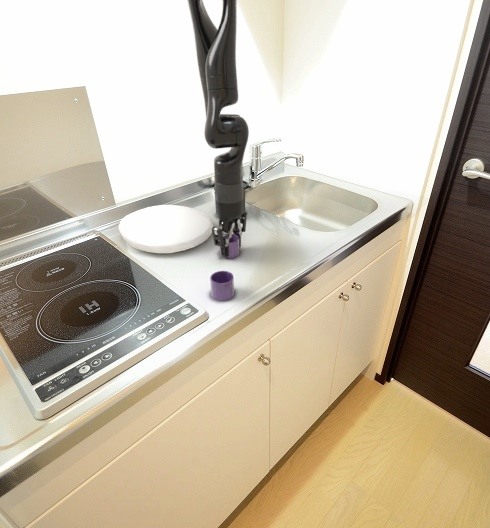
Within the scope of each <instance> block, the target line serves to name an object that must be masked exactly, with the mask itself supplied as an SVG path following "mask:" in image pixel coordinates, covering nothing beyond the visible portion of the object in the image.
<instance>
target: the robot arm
mask: <svg viewBox="0 0 490 528" xmlns="http://www.w3.org/2000/svg"><path fill="white" fill-rule="evenodd" d="M187 5H188V10H189V15H190V19H191V24H192V29H193V30H192V31H193V36H194V43H195V53H196V60H197V61H196V62H197V67H198V74H199V79H200V84H201V85H200V86H201V89H202V95H203V100H204V102H203V103H204V110H205V124H204V130H203V131H204V139H205V142H206V143H207V145H208V146H209V147H210V148H212V149H227V148H229V150H228V151H225V152H224V153H221V154H218V155H216V156H215V157H214V159H213V171H214V172H213V173H214V204H215V214H216V215H217V218H219V221H218V225H216V226H213V227H212V233H211V234H212V238H213V242H214V246H217V247H219V248H220V247H221V254H220V256H221V255H222V256H223V257H222V256H221V257H222V258H225V257H226V258H225V259H228V258H227V257H229V245H228V244H229V239H230V238H231V237H232V234H235V235H237V236H238V237H239V249H240V248H242V236H243V233H245V232H246V230H247V229H246V228H247V217H248V212H247V211H246V190H247V188H249V189H251V188H252V187H251V185H250V186H249V184H247V185H245V186H244V168H243V165H244V164H243V162H244V157H245V153H246V149H247V145H248V140H249V137H250V136H249V135H250V129H249V125H248V122H247V121H246V120H245V118H243V116H241V115H240V114H235V113H221V112H222V110H223V109H224V108H226V107H230V106H233V105H236V104H237V103H238V102H239V86H238V72H237V23H238V22H237V21H238V20H237V19H238V13H237V11H238V0H222V11H221V18H220V22H219V25H218V28H217V27H216V25H215V24H214V22H213V21H212V19H211V18H210V16H209V14H208V11H207V9H206V6H205V4H204V1H203V0H187ZM241 224H242V225H241ZM226 234H228V235H226ZM224 237H225V238H226V240H225V241H224V239H223V238H224Z"/></svg>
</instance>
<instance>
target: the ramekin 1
mask: <svg viewBox="0 0 490 528" xmlns="http://www.w3.org/2000/svg"><path fill="white" fill-rule="evenodd" d="M225 234H226V235H228V233H225ZM223 239H224V241H225V240H226V238H225V237H224V238H223ZM228 245H229V257H227V258H226V257H223V256H222V255H221V247H220V246H219V254H220V256H221V257H222V258H225V259H234V258H236V257H238V256H239V255H240V248H239V237H238V236H237V235H235V234H233V233H232V237H231V238H230V239H229V244H228Z"/></svg>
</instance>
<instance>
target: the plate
mask: <svg viewBox="0 0 490 528" xmlns="http://www.w3.org/2000/svg"><path fill="white" fill-rule="evenodd" d="M212 227H214V222H213V221H212V220H211V218H210V217H209V216H208V215H207V214H206V213H204V212H202V211H201V210H198V209H196V208H193V207H190V206H185V205H184V206H183V205H178V204H177V205H175V204H160V205H159V204H158V205H153V206H152V205H151V206H147V207H144V208H141V209H139V210H138V209H137V210H136V211H134V212H131V213H129V214H127V215H125V216H124V217H123V218H122V219H121V220H120V222H119V224H118V231H119V233H120V235H121V237H122V239H123V240H124V241H125V242H126V243H127V244H128V245H129V246H131V247H132V248H134V249H137V250H139V251H142V252H146V253H151V254H152V253H153V254H173V253H178V252H182V251H186V250H189V249H193V248H195V247H197V246H200V245H201V244H203V243H205V241H206V240H207V239H208V238H210V236H212V234H213V233H212Z"/></svg>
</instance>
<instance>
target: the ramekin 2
mask: <svg viewBox="0 0 490 528" xmlns="http://www.w3.org/2000/svg"><path fill="white" fill-rule="evenodd" d="M209 279H210V280H209V281H210V292H211V297H212V299H214V300H216V301H218V302H219V301H220V302H221V301H222V302H223V301H225V302H226V301H228V300H231V299H232V298H233V297H234V295H235V281H234V280H235V277H234V274H233V273H232V272H230V271H228V270H218V271H215V272H213V273H211V275H210V277H209Z"/></svg>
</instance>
